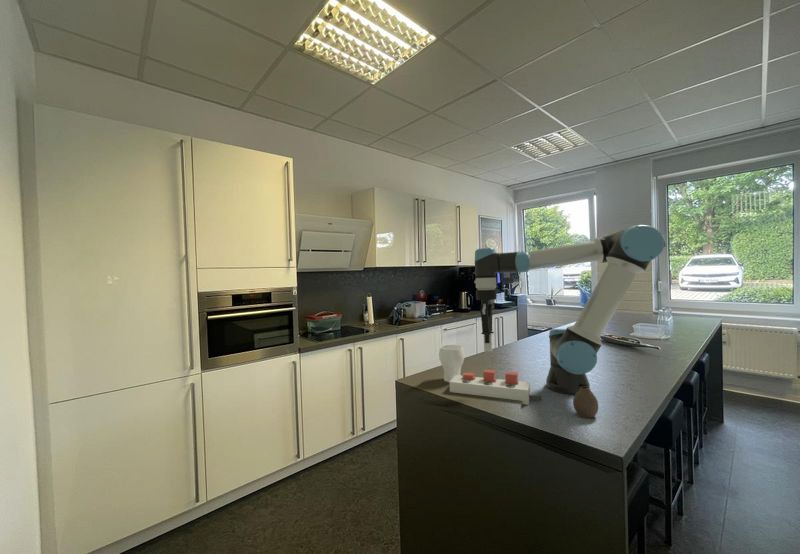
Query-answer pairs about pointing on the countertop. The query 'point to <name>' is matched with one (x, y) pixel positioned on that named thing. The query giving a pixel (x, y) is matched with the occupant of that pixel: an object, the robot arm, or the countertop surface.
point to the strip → (493, 388)
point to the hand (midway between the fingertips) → (488, 351)
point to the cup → (451, 360)
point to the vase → (585, 402)
